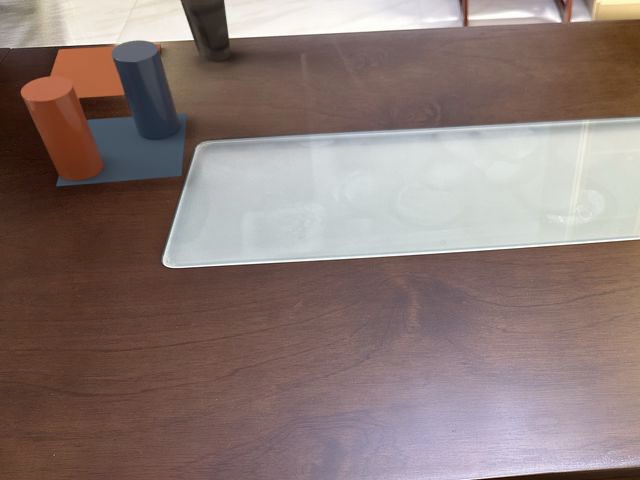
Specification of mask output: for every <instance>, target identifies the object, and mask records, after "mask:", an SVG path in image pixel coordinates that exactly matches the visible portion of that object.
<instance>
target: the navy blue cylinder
mask: <svg viewBox="0 0 640 480" xmlns="http://www.w3.org/2000/svg"><path fill="white" fill-rule="evenodd" d="M155 44H156V43H154V42H151V41H149V40H141V39H138V40H130V41H125V42H122V43H120V44H118V45H116V47H115V48H114V49H113V50H112V52H111V56H112V59H113V62H114V64H115V67H116V70H117V73H118V76H119V79H120V82H121V85H122V88H123V91H124V94H125V95H124V96H125V100H126V102H127V105H128V108H129V112H130V114H131V117H133V120H134V123H135V126H136V128H137V131H138V134H139V135H140V136H142V137H143V138H146V139H152V140H158V139H164V138H168V137H170V136H172V135H174V134H176V133H177V132H178V131H179V129H180V122H179V119H178V115H177V114H178V112H177V109H176V105H175V102H174V98H173V95H172V92H171V87H170V84H169V81H168V78H167V74H166V70H165V67H164V63H163V61H162V57H161V52H160V53H159V50H158V47H157V46H156V45H155Z"/></svg>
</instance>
